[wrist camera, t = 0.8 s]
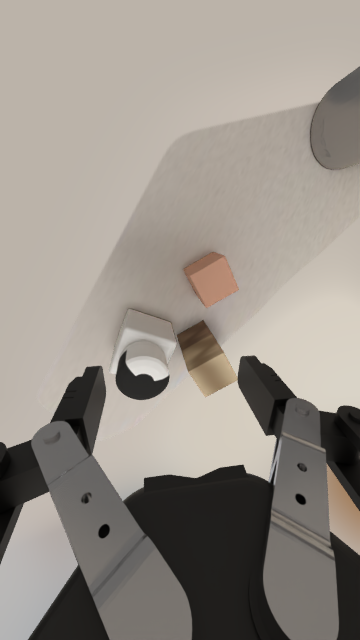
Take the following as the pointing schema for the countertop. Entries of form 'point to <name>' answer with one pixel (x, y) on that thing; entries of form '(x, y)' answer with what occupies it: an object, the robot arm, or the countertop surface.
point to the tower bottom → (193, 335)
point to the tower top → (208, 365)
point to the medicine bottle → (142, 355)
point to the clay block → (211, 278)
